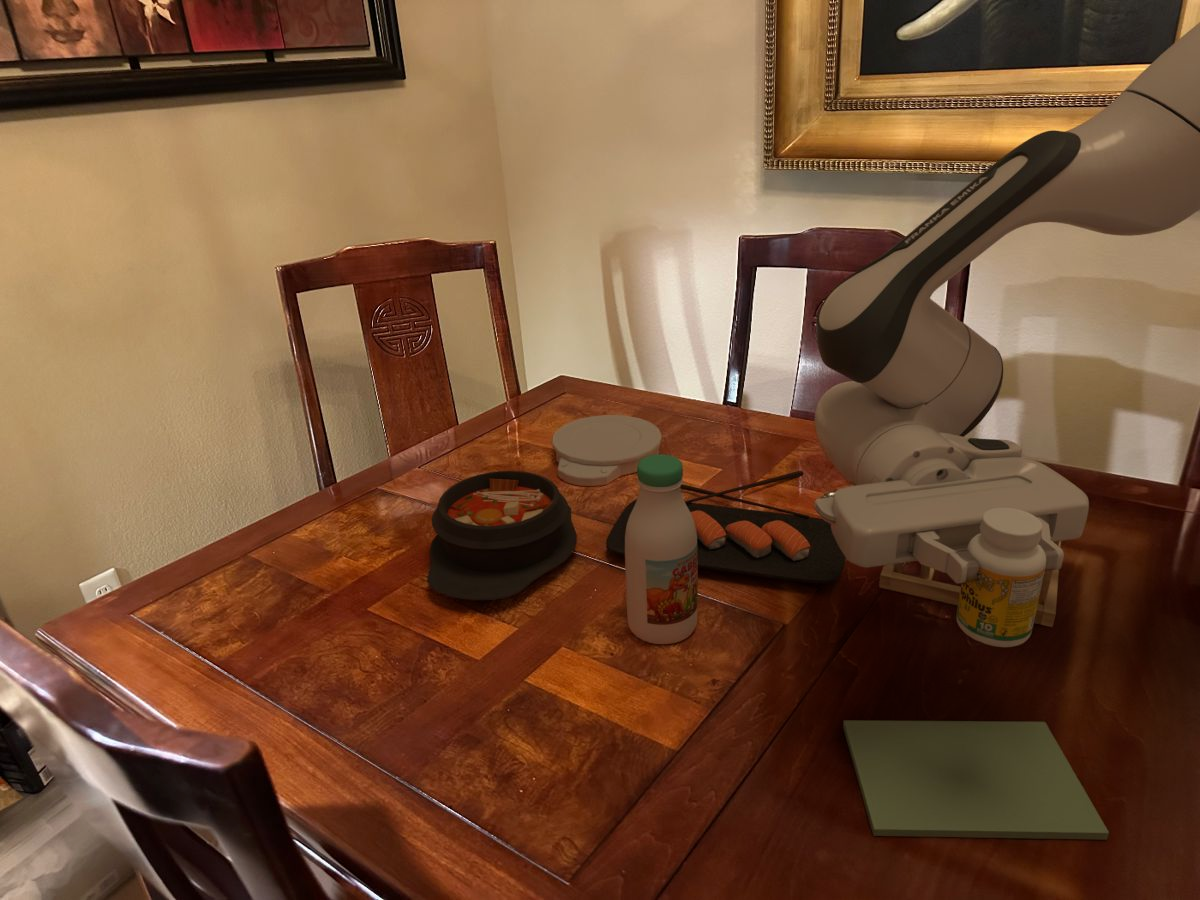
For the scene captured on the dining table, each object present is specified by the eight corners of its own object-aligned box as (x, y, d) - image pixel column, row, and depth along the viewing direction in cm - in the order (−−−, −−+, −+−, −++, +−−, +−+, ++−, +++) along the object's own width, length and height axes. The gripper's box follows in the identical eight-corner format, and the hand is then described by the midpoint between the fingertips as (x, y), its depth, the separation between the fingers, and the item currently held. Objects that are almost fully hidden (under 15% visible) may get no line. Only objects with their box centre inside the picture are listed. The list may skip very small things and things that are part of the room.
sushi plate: (598, 563, 105) (597, 536, 103) (661, 459, 130) (661, 436, 128) (840, 598, 96) (843, 570, 94) (856, 479, 121) (859, 455, 119)
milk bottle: (620, 642, 91) (613, 477, 82) (635, 600, 97) (630, 444, 89) (692, 650, 89) (692, 483, 80) (701, 607, 95) (703, 448, 87)
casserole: (477, 500, 121) (470, 448, 117) (601, 513, 116) (599, 459, 112) (392, 602, 99) (381, 541, 95) (541, 623, 94) (535, 560, 90)
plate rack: (903, 522, 110) (915, 433, 104) (1058, 553, 102) (1079, 458, 97) (878, 587, 97) (890, 490, 92) (1052, 627, 89) (1076, 523, 84)
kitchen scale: (525, 477, 126) (524, 459, 125) (579, 425, 143) (578, 409, 142) (632, 494, 120) (632, 476, 119) (676, 438, 137) (676, 421, 135)
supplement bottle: (1046, 642, 63) (1071, 533, 59) (983, 655, 62) (1004, 545, 58) (1000, 601, 68) (1020, 498, 64) (940, 612, 67) (957, 508, 63)
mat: (1043, 728, 77) (1045, 721, 76) (1107, 840, 66) (1109, 832, 66) (842, 726, 78) (843, 720, 78) (873, 836, 67) (874, 829, 67)
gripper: (808, 464, 72) (883, 550, 59) (1029, 437, 74) (1146, 514, 62) (803, 528, 74) (875, 623, 62) (1017, 500, 77) (1126, 586, 65)
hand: (1012, 568), depth 62 cm, fingers closed on supplement bottle, 5 cm apart
